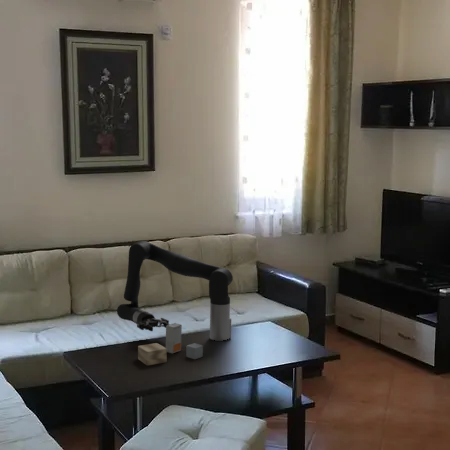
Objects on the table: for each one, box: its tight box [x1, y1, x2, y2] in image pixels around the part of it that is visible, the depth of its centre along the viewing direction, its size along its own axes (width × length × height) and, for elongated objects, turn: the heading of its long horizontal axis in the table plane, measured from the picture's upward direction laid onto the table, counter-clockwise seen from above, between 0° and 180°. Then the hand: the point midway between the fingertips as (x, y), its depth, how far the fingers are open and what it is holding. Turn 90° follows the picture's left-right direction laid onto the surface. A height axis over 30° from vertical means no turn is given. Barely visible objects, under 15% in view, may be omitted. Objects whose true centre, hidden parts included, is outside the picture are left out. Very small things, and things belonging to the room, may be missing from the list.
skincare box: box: [165, 322, 183, 354], centre depth 304 cm, size 6×4×12 cm
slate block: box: [185, 342, 204, 360], centre depth 298 cm, size 5×5×5 cm
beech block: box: [137, 342, 168, 366], centre depth 292 cm, size 9×9×6 cm
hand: (160, 327), depth 313 cm, fingers open, 8 cm apart
